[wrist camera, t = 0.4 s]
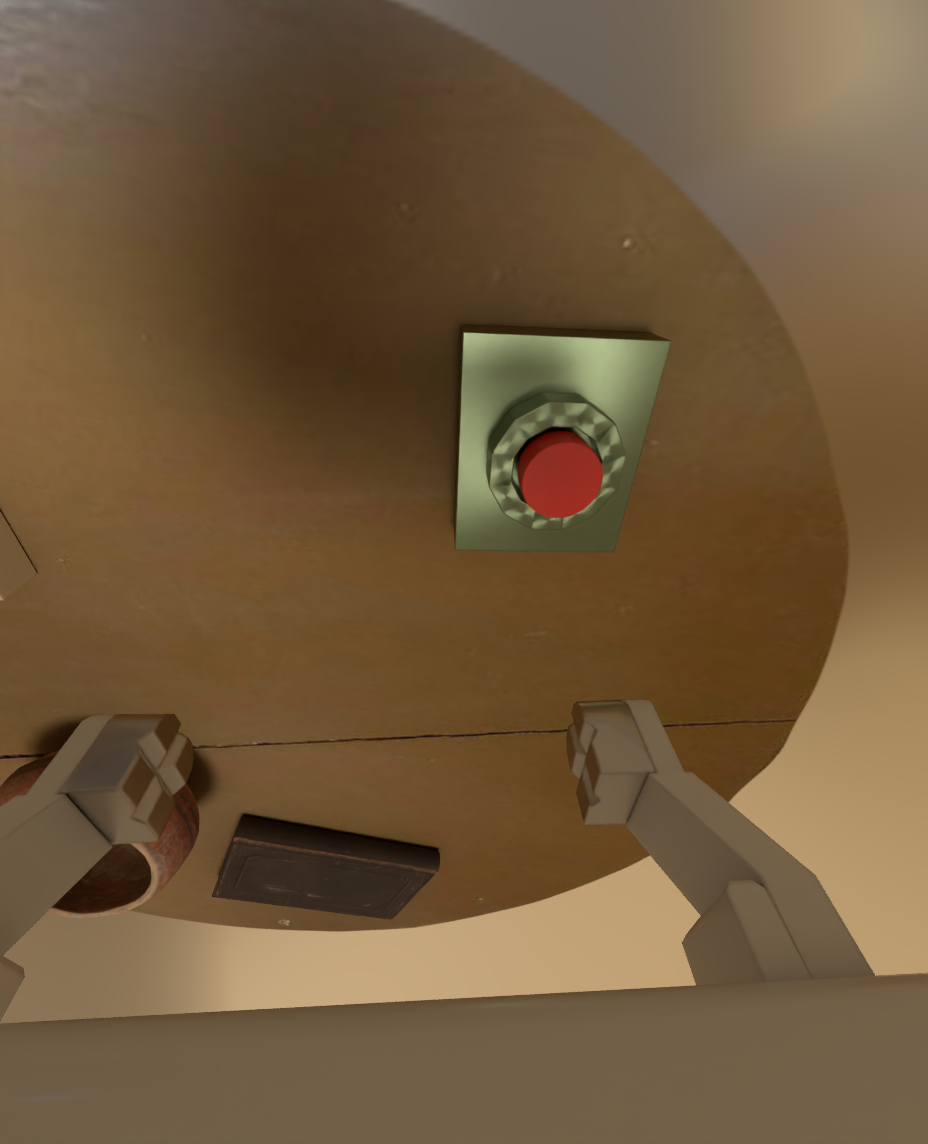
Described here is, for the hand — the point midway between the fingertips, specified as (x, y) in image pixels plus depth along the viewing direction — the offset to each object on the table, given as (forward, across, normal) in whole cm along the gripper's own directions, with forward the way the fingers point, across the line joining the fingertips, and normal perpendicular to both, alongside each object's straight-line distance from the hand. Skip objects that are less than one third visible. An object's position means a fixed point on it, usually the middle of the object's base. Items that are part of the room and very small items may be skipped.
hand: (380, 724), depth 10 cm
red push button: (+16, -7, +1) cm, 18 cm away
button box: (+20, -7, +1) cm, 22 cm away
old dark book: (+20, +14, +54) cm, 59 cm away
